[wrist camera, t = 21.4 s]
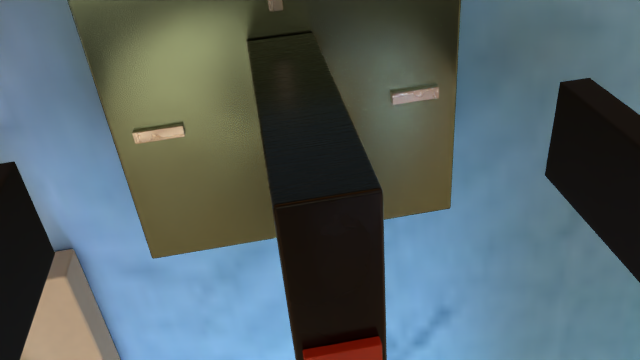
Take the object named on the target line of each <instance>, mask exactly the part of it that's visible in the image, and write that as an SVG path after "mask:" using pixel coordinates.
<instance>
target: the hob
mask: <svg viewBox="0 0 640 360" xmlns="http://www.w3.org/2000/svg"><path fill="white" fill-rule="evenodd" d="M20 360H121V359H120V357H119V355H118V352H117V350H116V348H115V345H114V343H113V341H112V338H111V336H110V334H109V331H108V329H107V327H106V324H105V322H104V319H103V317H102V315H101V312H100V310H99V308H98V305H97V303H96V301H95V298H94V296H93V294H92V291H91V289H90V287H89V284H88V282H87V280H86V277H85V275H84V273H83V270H82V268H81V265H80V263H79V261H78V258H77V256H76V254H75V251H74V250H73V249H69V250H63V251H57V252H55V256H54V259H53V262H52V265H51V268H50V271H49V274H48V277H47V280H46V283H45V286H44V289H43V292H42V295H41V298H40V301H39V304H38V307H37V310H36V313H35V316H34V319H33V322H32V325H31V328H30V331H29V334H28V337H27V340H26V343H25V346H24V349H23V352H22V355H21V358H20Z"/></svg>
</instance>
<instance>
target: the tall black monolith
mask: <svg viewBox="0 0 640 360" xmlns="http://www.w3.org/2000/svg"><path fill="white" fill-rule="evenodd" d="M247 50H248V56H249V63H250V69H251V75H252V82H253V88H254V95H255V101H256V108H257V114H258V120H259V127H260V133H261V140H262V146H263V153H264V159H265V165H266V172H267V178H268V185H269V191H270V198H271V204H272V210H273V217H274V223H275V230H276V236H277V242H278V249H279V255H280V262H281V268H282V274H283V281H284V287H285V294H286V300H287V307H288V313H289V319H290V326H291V332H292V339H293V345H294V351H295V358H296V360H387V353H386V308H385V263H384V218H383V190H382V187H381V185H380V183H379V181H378V178H377V176H376V174H375V172H374V169H373V167H372V165H371V162H370V160H369V158H368V156H367V153H366V151H365V149H364V147H363V144H362V142H361V140H360V138H359V135H358V133H357V131H356V129H355V126H354V124H353V122H352V119H351V117H350V115H349V113H348V110H347V108H346V106H345V104H344V101H343V99H342V97H341V95H340V92H339V90H338V88H337V86H336V83H335V81H334V79H333V77H332V74H331V72H330V70H329V67H328V65H327V63H326V61H325V58H324V56H323V54H322V52H321V49H320V47H319V45H318V43H317V40H316V38H315V36H314V34H313V33H307V34H300V35H292V36H285V37H277V38H270V39H262V40H255V41H249V42H247Z"/></svg>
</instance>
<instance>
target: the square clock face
mask: <svg viewBox="0 0 640 360" xmlns="http://www.w3.org/2000/svg"><path fill="white" fill-rule="evenodd" d="M67 1H68V4H69V7H70V10H71V13H72V16H73V19H74V22H75V25H76V28H77V31H78V34H79V37H80V40H81V43H82V46H83V49H84V53H85V56H86V59H87V62H88V65H89V68H90V71H91V74H92V77H93V80H94V83H95V86H96V89H97V92H98V95H99V98H100V101H101V104H102V107H103V110H104V113H105V116H106V119H107V122H108V125H109V128H110V131H111V134H112V138H113V141H114V144H115V147H116V150H117V153H118V156H119V159H120V162H121V165H122V168H123V171H124V174H125V177H126V180H127V183H128V186H129V189H130V192H131V195H132V198H133V201H134V204H135V207H136V210H137V213H138V216H139V219H140V222H141V226H142V229H143V232H144V235H145V238H146V241H147V244H148V247H149V250H150V253H151V256H152V258H160V257H166V256H172V255H178V254H184V253H190V252H196V251H202V250H207V249H213V248H219V247H225V246H231V245H237V244H243V243H249V242H255V241H261V240H267V239H272V238H277V236H276V230H275V223H274V217H273V210H272V204H271V198H270V191H269V185H268V178H267V172H266V165H265V159H264V153H263V146H262V140H261V133H260V127H259V120H258V114H257V108H256V101H255V95H254V88H253V82H252V75H251V69H250V63H249V56H248V50H247V42H249V41H255V40H262V39H270V38H277V37H285V36H292V35H300V34H307V33H313V34H314V36H315V38H316V40H317V43H318V45H319V47H320V49H321V52H322V54H323V56H324V58H325V61H326V63H327V65H328V67H329V70H330V72H331V74H332V77H333V79H334V81H335V83H336V86H337V88H338V90H339V92H340V95H341V97H342V99H343V101H344V104H345V106H346V108H347V110H348V113H349V115H350V117H351V119H352V122H353V124H354V126H355V129H356V131H357V133H358V135H359V138H360V140H361V142H362V144H363V147H364V149H365V151H366V153H367V156H368V158H369V160H370V162H371V165H372V167H373V169H374V172H375V174H376V176H377V178H378V181H379V183H380V185H381V187H382V190H383V218H384V220H385V219H391V218H397V217H403V216H408V215H414V214H420V213H426V212H432V211H438V210H444V209H449V208H450V206H451V187H452V167H453V147H454V127H455V107H456V87H457V67H458V47H459V28H460V8H461V0H67Z"/></svg>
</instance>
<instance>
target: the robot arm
mask: <svg viewBox="0 0 640 360" xmlns="http://www.w3.org/2000/svg"><path fill="white" fill-rule="evenodd" d="M545 176H546V177H547V178H548V179H549V181H550V182H551V183H552V184H553V185H554V186H555V187H556V188H557V190H558V191H559V192H560V193H561V194H562V195H563V196H564V198H565V199H566V200H567V201H568V202H569V203H570V204H571V205H572V207H573V208H574V209H575V210H576V211H577V212H578V213H579V214H580V216H581V217H582V218H583V219H584V220H585V221H586V222H587V224H588V225H589V226H590V227H591V228H592V229H593V230H594V231H595V233H596V234H597V235H598V236H599V237H600V238H601V239H602V240H603V242H604V243H605V244H606V245H607V246H608V247H609V248H610V250H611V251H612V252H613V253H614V254H615V255H616V256H617V257H618V259H619V260H620V261H621V262H622V263H623V264H624V265H625V266H626V268H627V269H628V270H629V271H630V272H631V273H632V274H633V276H634V277H635V278H636V279H637V280H638V281H639V282H640V115H639V114H638V113H636V112H635V111H634V110H632V109H631V108H630V107H628V106H627V105H626V104H624V103H623V102H621V101H620V100H619V99H617V98H616V97H615V96H613V95H612V94H611V93H609V92H608V91H607V90H605V89H604V88H603V87H601V86H600V85H599V84H597V83H596V82H595V81H593V80H592V79H591V78H585V79H578V80H571V81H565V82H560V86H559V92H558V99H557V105H556V111H555V117H554V123H553V129H552V135H551V141H550V147H549V153H548V159H547V165H546V171H545ZM54 256H55V252H54V250H53V248H52V245H51V243H50V241H49V239H48V236H47V234H46V232H45V230H44V227H43V225H42V223H41V220H40V218H39V216H38V214H37V211H36V209H35V207H34V205H33V202H32V200H31V198H30V196H29V193H28V191H27V189H26V186H25V184H24V182H23V180H22V177H21V175H20V173H19V171H18V168H17V166H16V164H15V162H9V163H2V164H0V360H20V358H21V355H22V352H23V349H24V346H25V343H26V340H27V337H28V334H29V331H30V328H31V325H32V322H33V319H34V316H35V313H36V310H37V307H38V304H39V301H40V298H41V295H42V292H43V289H44V286H45V283H46V280H47V277H48V274H49V271H50V268H51V265H52V262H53V259H54Z"/></svg>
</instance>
